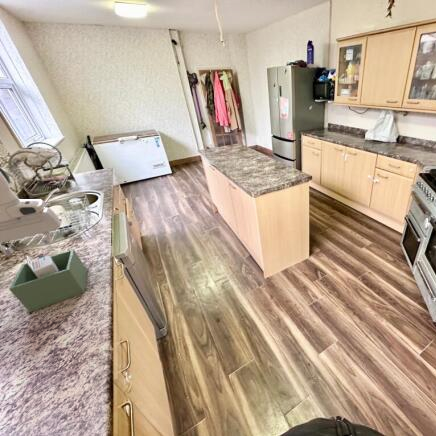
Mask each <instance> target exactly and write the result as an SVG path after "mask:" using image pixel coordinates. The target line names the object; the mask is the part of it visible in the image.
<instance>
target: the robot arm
mask: <svg viewBox="0 0 436 436" xmlns="http://www.w3.org/2000/svg"><path fill="white" fill-rule="evenodd" d="M10 184H11V178H10V175H9V173H8V172H7V171H6V170H5V169H4V168H3V167H1V166H0V252H3V254H4V255H5V256H8V255H11V254H14V251H15V250H14V249H13V248H12V247H11V246H9V247H7V246H4V245H3V243H8V242H12V241H16V240H19V239H24V238H28V237H31V236H35V235H40V234H43V236H45V237H44V238H42V242H43V244H44V245H46V246H47V245H49V244H52V242H53V241H52V238H51V233H52V231H56V230H59V229H60V227H61V226H62V221H61V220H60V218H59V217H58V215H57V214H56V213H55V211H54V210H52V209H51V208H50V207H47V206H46V203H45V201H44V200H42V199H21V198H19V197H18V195H17V194H15V193H14V192H13V190H12V189H11V185H10Z"/></svg>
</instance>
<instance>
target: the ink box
mask: <svg viewBox="0 0 436 436" xmlns="http://www.w3.org/2000/svg"><path fill="white" fill-rule="evenodd" d="M25 256H26V263H28V266H29V267H30V268H31V270H32V271H33V272H34V273H35V275H36V276H37V277H38V278H41V277H44V276H47V275H50V274H53V273H56V272H60V270H59V269H58V267H57V266H56V264H55V263H54V262H53V260H52V259H51V257H50V256H51V255H44V256H45V257H43V258H40V259H39V258H38V259H34V260H31V259H30V257H29V256H28V255H27V254H26V255H25Z"/></svg>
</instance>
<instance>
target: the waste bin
mask: <svg viewBox="0 0 436 436" xmlns="http://www.w3.org/2000/svg"><path fill="white" fill-rule="evenodd" d="M49 256H50V257H51V259H52V260H53V262H54V263H55V264H56V266H57V267H58V269H59V270H60V272H56V273H53V274H50V275H47V276H44V277H41V278H38V277H37V276H36V275H35V273H34V272H33V271H32V270H31V268H30V267H29V266H28V263H27V262H26V263H23V264H21V266H20V268H19V270H18V272H17V273H16V275H15V277H14V279H13V281H12V283H11V285H10V287H9V291H10V292H11V293H12V294H13V296H15V298H16V299H17V300H18V301H19V302H20V303H21V304H22V305H23V306H24V308H25V309H26V310H27V311H28V312H29V313H32V312H35V311H37V310H40V309H42V308H45V307H48V306H51V305H53V304H57V303H59V302H62V301H64V300H67V299H70V298H72V297H75V296H77V295H81V294H83V293H85V288H86V283H87V282H86V281H87V275H88V269H87V268H86V266H85V265H84V263H83V261H82V260H81V257H80V256H79V255H78V253H77V252H76V250H75V249H74V248H73V249H70V250H66V251H63V252H60V253H56V254H53V255H49Z"/></svg>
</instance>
